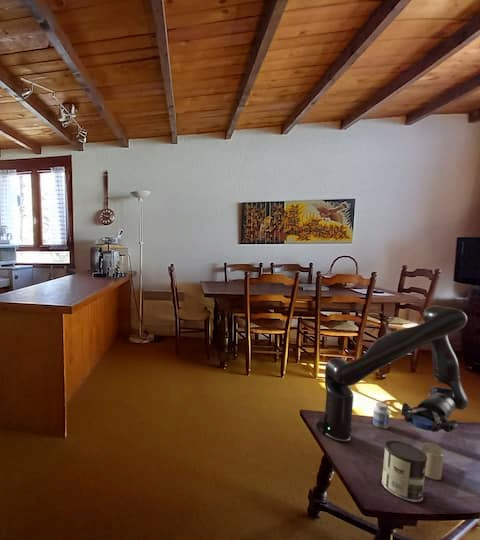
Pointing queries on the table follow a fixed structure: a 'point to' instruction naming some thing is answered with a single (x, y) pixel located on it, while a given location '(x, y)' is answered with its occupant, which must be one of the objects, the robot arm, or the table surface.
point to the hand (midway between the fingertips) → (419, 424)
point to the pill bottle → (381, 415)
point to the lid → (421, 422)
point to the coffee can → (404, 470)
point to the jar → (433, 460)
